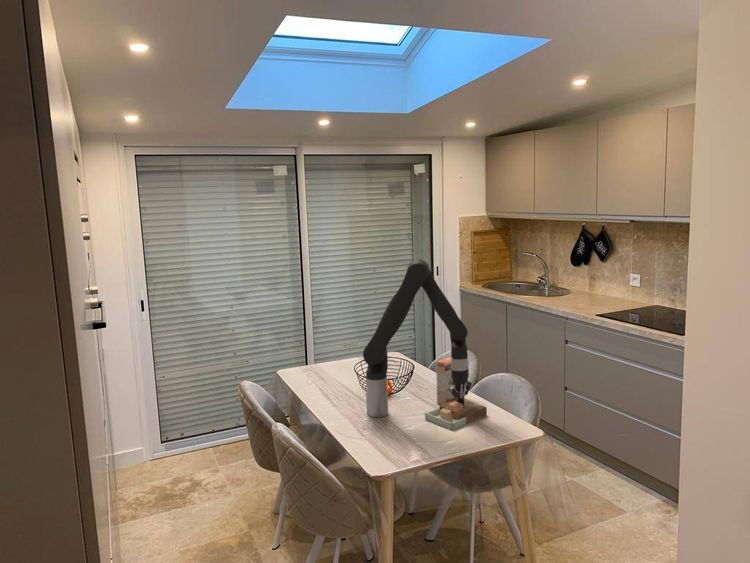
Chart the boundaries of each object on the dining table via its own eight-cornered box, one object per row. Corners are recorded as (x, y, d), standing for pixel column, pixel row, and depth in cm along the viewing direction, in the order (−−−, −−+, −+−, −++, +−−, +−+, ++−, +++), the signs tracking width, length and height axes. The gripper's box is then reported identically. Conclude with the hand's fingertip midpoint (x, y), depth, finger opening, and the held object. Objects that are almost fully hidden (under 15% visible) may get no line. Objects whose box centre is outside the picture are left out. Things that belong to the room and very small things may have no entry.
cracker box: (446, 407, 250) (445, 363, 248) (436, 404, 255) (435, 360, 252) (465, 398, 260) (464, 356, 257) (455, 396, 264) (454, 354, 261)
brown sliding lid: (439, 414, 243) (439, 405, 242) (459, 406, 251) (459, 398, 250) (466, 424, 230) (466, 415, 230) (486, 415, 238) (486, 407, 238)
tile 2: (447, 409, 237) (447, 403, 237) (454, 406, 240) (454, 401, 240) (455, 412, 234) (455, 406, 233) (462, 409, 236) (462, 403, 236)
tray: (425, 419, 237) (424, 413, 237) (439, 414, 242) (438, 407, 242) (452, 430, 225) (452, 423, 224) (466, 424, 230) (466, 417, 230)
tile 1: (444, 417, 236) (441, 419, 235) (443, 408, 235) (439, 410, 234) (452, 420, 233) (448, 422, 231) (451, 410, 232) (447, 413, 230)
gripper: (463, 362, 244) (464, 399, 246) (442, 369, 236) (444, 407, 238) (476, 365, 238) (477, 403, 241) (455, 372, 230) (457, 411, 232)
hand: (461, 405), depth 239 cm, fingers closed
